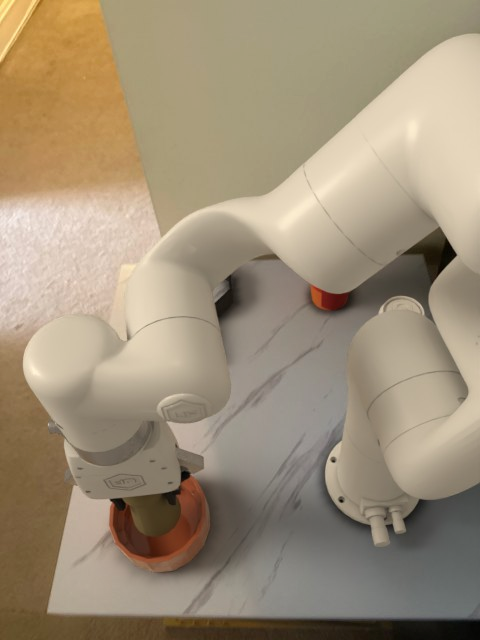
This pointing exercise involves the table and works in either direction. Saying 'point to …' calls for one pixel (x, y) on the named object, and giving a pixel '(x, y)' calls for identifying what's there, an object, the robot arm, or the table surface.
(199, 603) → the table surface
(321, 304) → the coffee cup
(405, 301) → the beer can
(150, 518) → the olive rounded piece
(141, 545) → the bowl
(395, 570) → the table surface
